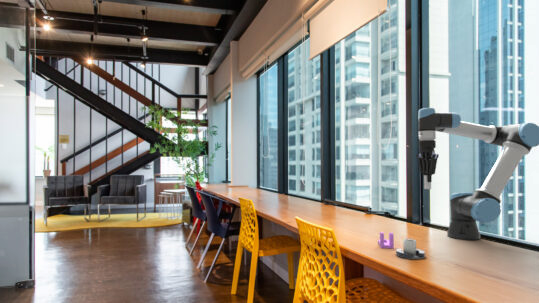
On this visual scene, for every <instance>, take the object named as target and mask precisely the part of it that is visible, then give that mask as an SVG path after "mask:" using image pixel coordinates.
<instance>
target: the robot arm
mask: <svg viewBox="0 0 539 303" xmlns="http://www.w3.org/2000/svg"><path fill="white" fill-rule="evenodd" d="M417 114H418V115H417V116H418V117H417V120H418V122H417V123H418V140H419V141H418V149H420V151H419V154H416V158H417V163H418V167H419V168H418V169H419V173H420V174H422V176H423V182H424V183H423V184H424V185H423V188H424V190H432V181H433V180H432V179H433V177H432V176H433V175H435V174H436V168H437V164H438V158H439V154H438V153H435V152H436V151H435V149H436V148H437V146H436V144H437V143H436V142H437V141H436V140H437V136H436V132H439V133H444V134H450V135H455V136H460V137H465V138H471V139H474V140H480V141H484V142H485V143H486V144H490V145H494V146H499V147H503V149H502V151H501V153H500V154H499V156H498V157H497V159H496V162H495V163H494V165H493V166H492V168H491V169H490V172H489V173H488V175H487V176H486V177H485V180H484V181H483V184H482V185H481V187H480V188H477V189H475V190H474V192H454V193H451V194H450V198H449V201H450V202H449V203H450V205H449V206H450V222H449V226H448V229H447V232H446V234H447V237H450V238H451V239H458V240H467V241H475V240H480V239H481V233H480V232H479V227H478V225H477V222H480V223H492V222H494V221H496V220H497V219H498V218H499V216H500V215H501V211H502V209H501V201H502V200H501V198H500V197H501V195H502V193H503V192H504V189H505V187H506V186H507V184H508V183H509V180H510V179H511V178H512V176H513V174H514V172H515V170H516V169H517V167H518V166H519V163H520V161H522V158H523V157H524V156H526V155H529V154H530V152H531V150H532V149H533V148H536V147H538V146H539V125H538V124H536V123H533V122H522V123H517V124H509V125H494V124H493V125H489V126H487V125H484V124H483V125H482V124H478V123H477V124H476V123H473V122H468V121H462V119H461V118H462V117H461V115H460V113H458V112H437V111H436V108H434V107H423V108H420V109H418V113H417Z"/></svg>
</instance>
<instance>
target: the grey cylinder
mask: <svg viewBox="0 0 539 303" xmlns="http://www.w3.org/2000/svg"><path fill="white" fill-rule="evenodd" d="M402 243H403V244H402V245H403V248H402V251H403V252H406V253H413V256H416V249H417V240H415V239H413V238H404V239H403V242H402Z"/></svg>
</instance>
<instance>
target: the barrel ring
mask: <svg viewBox="0 0 539 303" xmlns="http://www.w3.org/2000/svg"><path fill="white" fill-rule="evenodd" d="M395 255H396V256H397V257H398V258H402V259H406V260H422V259H425V256H426V251H424V250H422V249H419V248H416V256H413V253H406V252H403V248H396V249H395Z"/></svg>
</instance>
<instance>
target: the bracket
mask: <svg viewBox="0 0 539 303" xmlns="http://www.w3.org/2000/svg"><path fill="white" fill-rule="evenodd" d="M394 241H395V240H394V232H389V233H388V239H385V234H384V231H380V232H379V239H378V241H377V243H378V245H379V247H380V249H394V248H395V244H394Z"/></svg>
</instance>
